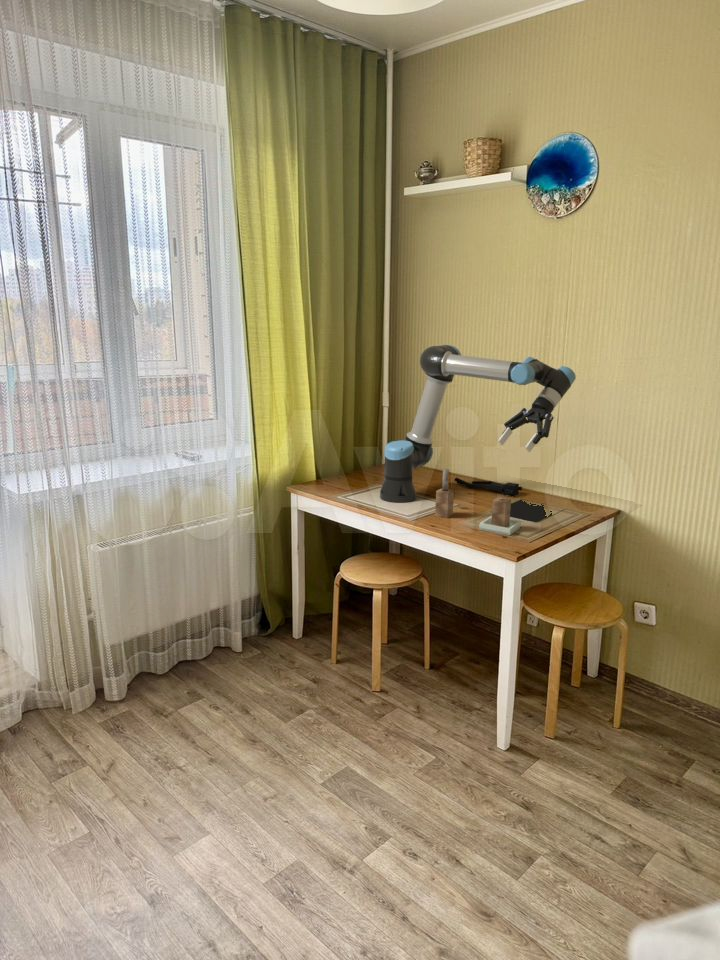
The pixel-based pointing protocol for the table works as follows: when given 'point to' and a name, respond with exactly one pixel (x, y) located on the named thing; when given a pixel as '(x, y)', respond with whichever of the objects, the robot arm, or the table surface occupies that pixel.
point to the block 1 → (444, 498)
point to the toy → (493, 486)
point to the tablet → (527, 512)
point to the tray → (509, 530)
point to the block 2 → (501, 512)
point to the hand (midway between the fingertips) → (513, 446)
